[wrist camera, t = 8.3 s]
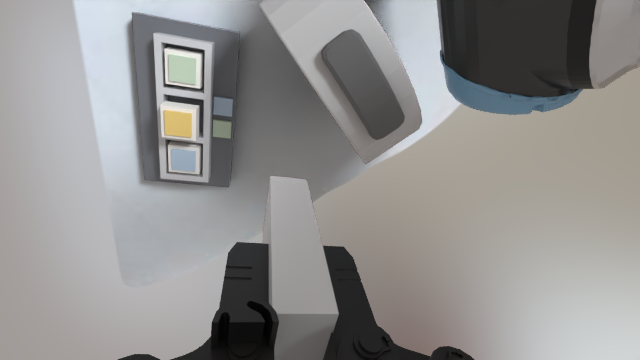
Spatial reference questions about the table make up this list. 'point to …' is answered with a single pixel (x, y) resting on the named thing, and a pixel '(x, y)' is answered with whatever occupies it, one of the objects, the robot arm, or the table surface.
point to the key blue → (185, 157)
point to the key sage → (184, 67)
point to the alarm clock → (349, 69)
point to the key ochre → (179, 120)
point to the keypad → (187, 95)
